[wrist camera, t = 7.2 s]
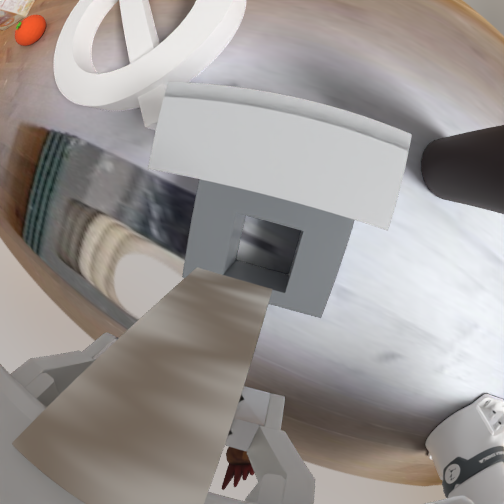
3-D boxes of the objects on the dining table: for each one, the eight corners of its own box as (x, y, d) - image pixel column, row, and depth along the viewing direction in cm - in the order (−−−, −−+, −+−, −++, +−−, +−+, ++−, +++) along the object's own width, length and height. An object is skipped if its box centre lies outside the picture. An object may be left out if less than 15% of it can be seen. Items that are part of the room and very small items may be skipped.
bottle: (422, 131, 23) (556, 92, 4) (468, 149, 22) (600, 144, 3) (416, 191, 25) (557, 226, 6) (463, 205, 24) (595, 250, 5)
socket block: (361, 154, 25) (411, 134, 12) (318, 296, 30) (324, 380, 16) (229, 122, 26) (168, 81, 13) (200, 262, 31) (133, 319, 18)
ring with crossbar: (133, -38, 21) (119, -50, 16) (284, -30, 19) (280, -51, 15) (52, 93, 29) (32, 89, 25) (177, 140, 28) (157, 135, 24)
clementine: (28, 41, 27) (5, 35, 20) (46, 15, 25) (24, 7, 18) (35, 52, 27) (10, 46, 21) (55, 23, 25) (31, 15, 18)
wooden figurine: (238, 416, 37) (212, 493, 23) (234, 392, 36) (203, 474, 22) (281, 419, 36) (266, 500, 22) (281, 395, 35) (265, 484, 20)
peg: (272, 289, 14) (186, 549, 2) (254, 350, 15) (181, 558, 3) (197, 267, 14) (11, 443, 3) (187, 329, 15) (63, 499, 4)
